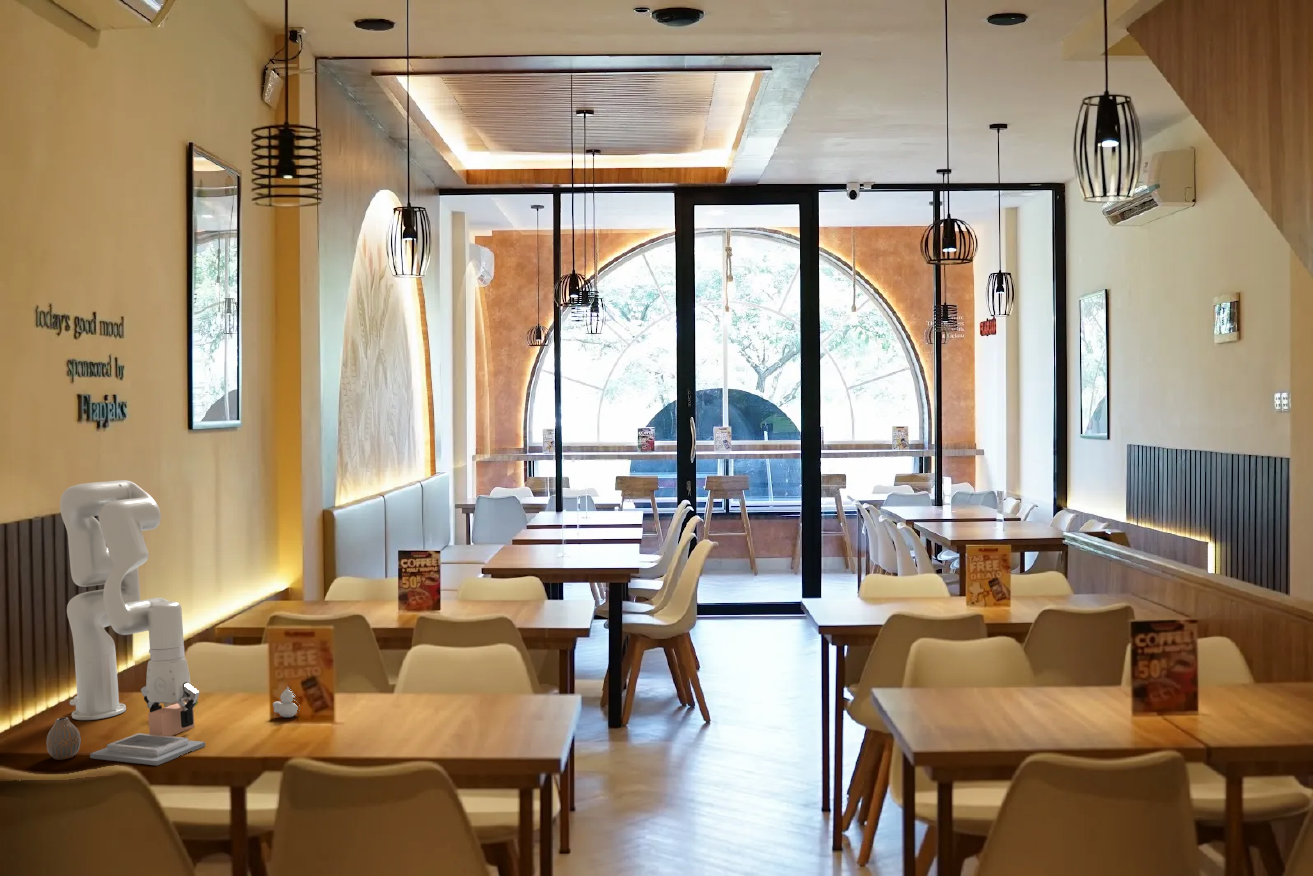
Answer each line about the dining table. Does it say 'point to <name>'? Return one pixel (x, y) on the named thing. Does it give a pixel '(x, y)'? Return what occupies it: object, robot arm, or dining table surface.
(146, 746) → the board
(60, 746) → the vase
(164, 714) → the keyed block
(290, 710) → the rubber duck
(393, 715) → the dining table surface
